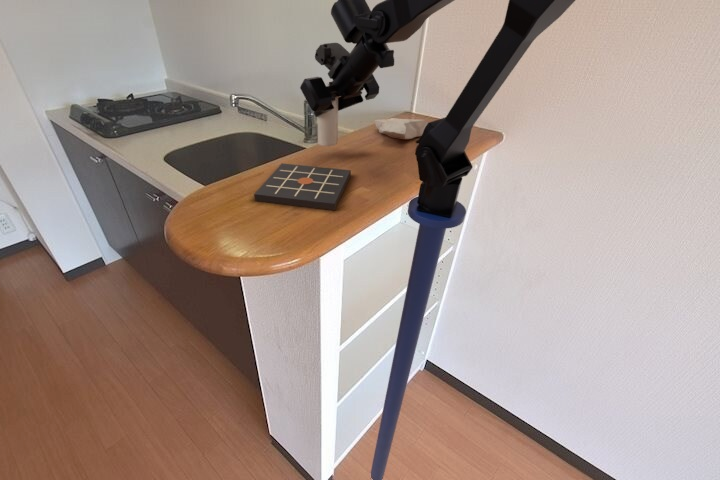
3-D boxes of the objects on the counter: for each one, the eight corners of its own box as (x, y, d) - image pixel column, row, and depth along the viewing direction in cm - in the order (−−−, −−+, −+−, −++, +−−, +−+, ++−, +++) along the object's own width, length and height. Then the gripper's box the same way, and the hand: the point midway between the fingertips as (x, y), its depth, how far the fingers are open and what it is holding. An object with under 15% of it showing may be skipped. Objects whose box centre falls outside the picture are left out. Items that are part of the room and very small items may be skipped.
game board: (350, 176, 78) (350, 169, 77) (334, 210, 66) (334, 203, 65) (282, 169, 81) (281, 162, 80) (254, 200, 69) (253, 193, 68)
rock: (353, 139, 98) (401, 146, 89) (353, 122, 96) (402, 127, 87) (393, 128, 112) (438, 132, 103) (394, 112, 109) (440, 115, 101)
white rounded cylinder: (340, 141, 86) (342, 82, 78) (332, 147, 83) (332, 86, 75) (323, 138, 88) (323, 80, 80) (314, 144, 85) (313, 84, 77)
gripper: (374, 25, 74) (337, 77, 87) (304, 30, 64) (274, 88, 77) (399, 72, 74) (358, 117, 87) (332, 84, 64) (298, 133, 77)
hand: (323, 113), depth 82 cm, fingers closed on white rounded cylinder, 5 cm apart
